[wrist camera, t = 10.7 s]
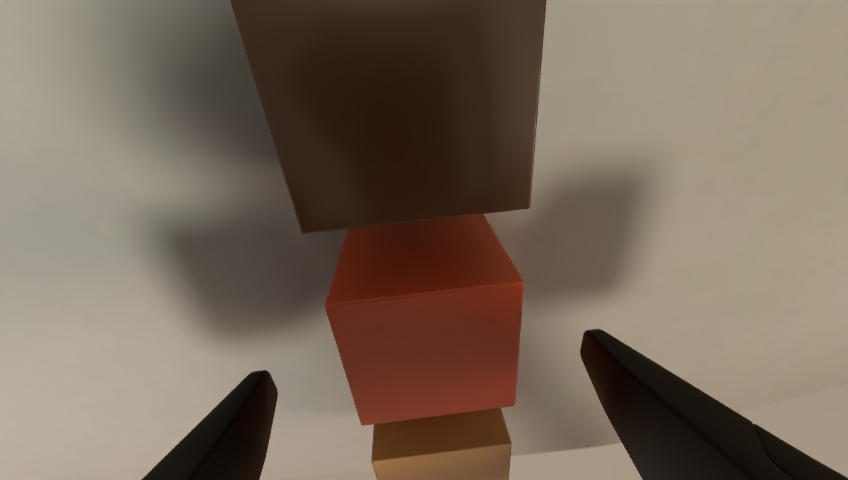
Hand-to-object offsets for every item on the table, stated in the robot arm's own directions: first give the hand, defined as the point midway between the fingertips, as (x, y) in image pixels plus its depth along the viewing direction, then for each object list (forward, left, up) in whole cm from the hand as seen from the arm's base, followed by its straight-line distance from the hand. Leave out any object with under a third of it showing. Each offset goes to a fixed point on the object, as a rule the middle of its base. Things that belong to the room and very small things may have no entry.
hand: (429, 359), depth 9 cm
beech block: (-7, 0, -5) cm, 9 cm away
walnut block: (+7, 0, -5) cm, 8 cm away
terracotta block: (0, 0, -5) cm, 5 cm away
